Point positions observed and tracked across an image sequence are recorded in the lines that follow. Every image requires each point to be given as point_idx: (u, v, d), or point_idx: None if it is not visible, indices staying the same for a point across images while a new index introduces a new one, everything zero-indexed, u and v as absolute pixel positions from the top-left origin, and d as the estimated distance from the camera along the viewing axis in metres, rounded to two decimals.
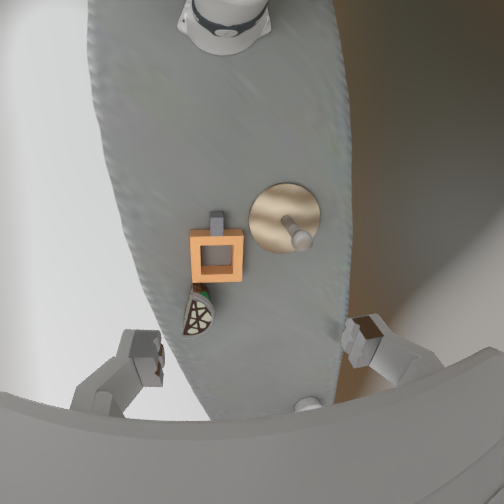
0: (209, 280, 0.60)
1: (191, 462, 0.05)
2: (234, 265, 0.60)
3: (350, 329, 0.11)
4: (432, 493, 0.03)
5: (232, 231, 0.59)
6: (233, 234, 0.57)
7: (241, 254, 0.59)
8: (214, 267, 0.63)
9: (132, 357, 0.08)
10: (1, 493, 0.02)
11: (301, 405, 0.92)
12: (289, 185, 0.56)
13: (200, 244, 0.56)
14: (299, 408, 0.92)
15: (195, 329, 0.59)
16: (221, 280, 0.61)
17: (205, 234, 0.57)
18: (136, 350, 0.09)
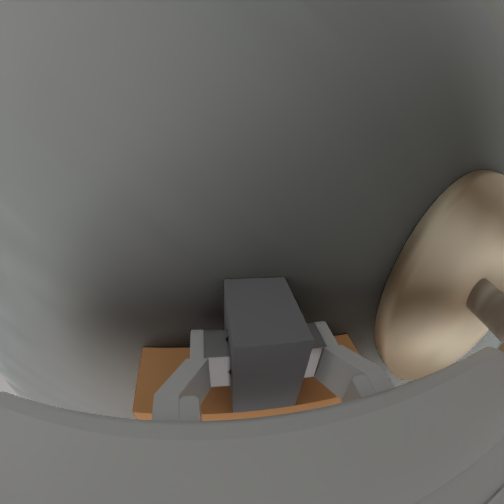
0: None
1: (191, 462, 0.05)
2: None
3: None
4: (432, 493, 0.03)
5: None
6: None
7: None
8: None
9: (208, 357, 0.09)
10: (1, 493, 0.02)
11: None
12: None
13: None
14: None
15: None
16: None
17: None
18: (210, 350, 0.09)
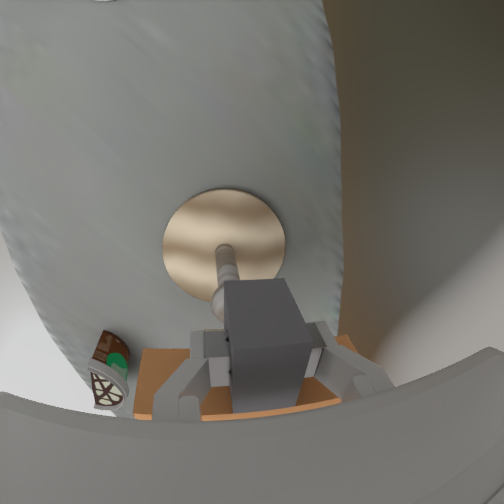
0: None
1: (191, 462, 0.05)
2: None
3: None
4: (432, 492, 0.03)
5: None
6: None
7: None
8: None
9: (208, 357, 0.09)
10: (1, 493, 0.02)
11: None
12: (225, 192, 0.32)
13: None
14: None
15: (107, 401, 0.35)
16: None
17: (207, 394, 0.11)
18: (210, 350, 0.09)
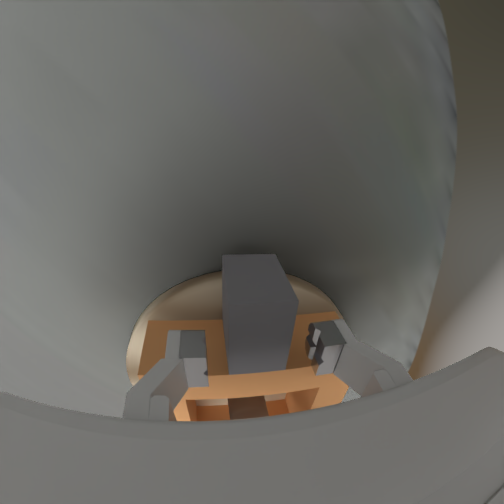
0: None
1: (191, 462, 0.05)
2: None
3: (312, 334, 0.11)
4: (432, 493, 0.03)
5: None
6: None
7: (336, 403, 0.14)
8: None
9: (182, 358, 0.09)
10: (1, 493, 0.02)
11: None
12: None
13: (186, 397, 0.12)
14: None
15: None
16: None
17: None
18: (186, 351, 0.09)
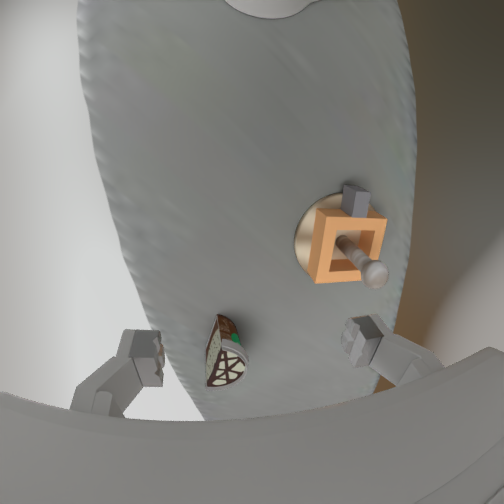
0: (337, 279, 0.43)
1: (191, 462, 0.05)
2: None
3: (350, 329, 0.11)
4: (432, 493, 0.03)
5: (369, 213, 0.41)
6: (375, 216, 0.40)
7: (380, 243, 0.41)
8: (337, 261, 0.45)
9: (132, 357, 0.08)
10: (1, 493, 0.02)
11: None
12: None
13: (337, 228, 0.39)
14: None
15: (223, 380, 0.44)
16: (350, 278, 0.43)
17: (343, 214, 0.39)
18: (136, 350, 0.09)
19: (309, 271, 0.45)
